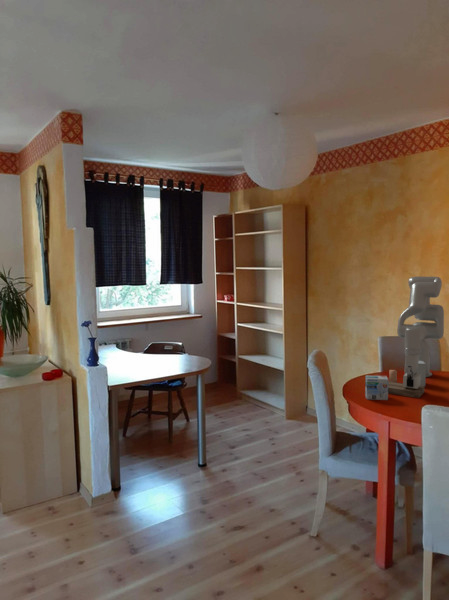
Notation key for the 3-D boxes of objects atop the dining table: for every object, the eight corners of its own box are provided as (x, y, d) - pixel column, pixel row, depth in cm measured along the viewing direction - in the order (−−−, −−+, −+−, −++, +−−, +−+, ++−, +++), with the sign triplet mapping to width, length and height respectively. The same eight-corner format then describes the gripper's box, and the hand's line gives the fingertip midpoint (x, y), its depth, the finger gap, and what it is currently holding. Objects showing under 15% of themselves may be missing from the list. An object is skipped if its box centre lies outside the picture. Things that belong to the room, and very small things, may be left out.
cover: (406, 383, 244) (406, 372, 243) (420, 385, 240) (420, 374, 239) (403, 386, 238) (403, 375, 238) (417, 388, 234) (417, 377, 234)
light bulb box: (366, 399, 231) (366, 378, 230) (364, 395, 238) (364, 375, 237) (388, 400, 229) (389, 379, 228) (386, 396, 236) (386, 375, 235)
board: (385, 386, 253) (385, 381, 252) (424, 392, 241) (424, 386, 241) (378, 391, 243) (379, 386, 243) (419, 398, 231) (419, 392, 231)
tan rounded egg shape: (390, 381, 262) (390, 369, 261) (397, 382, 260) (397, 370, 259) (388, 383, 259) (388, 371, 258) (395, 384, 256) (395, 371, 256)
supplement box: (425, 386, 251) (426, 363, 250) (411, 385, 253) (411, 363, 251) (422, 382, 258) (423, 360, 257) (408, 382, 260) (409, 360, 258)
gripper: (409, 347, 246) (408, 379, 248) (400, 353, 232) (399, 388, 234) (423, 348, 242) (423, 381, 244) (416, 355, 228) (415, 390, 230)
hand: (411, 384), depth 239 cm, fingers closed on cover, 7 cm apart
